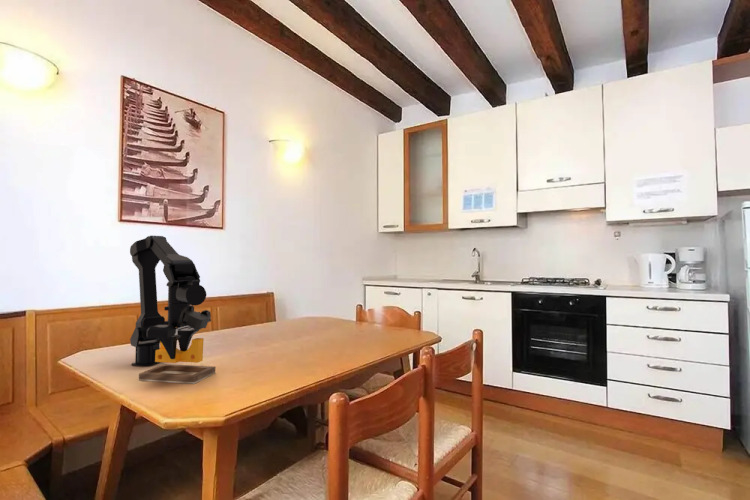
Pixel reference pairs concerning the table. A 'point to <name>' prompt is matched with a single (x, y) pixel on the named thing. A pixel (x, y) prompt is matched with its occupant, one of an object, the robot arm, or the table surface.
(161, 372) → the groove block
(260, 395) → the table surface
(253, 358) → the table surface
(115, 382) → the table surface
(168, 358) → the pipe clamp
